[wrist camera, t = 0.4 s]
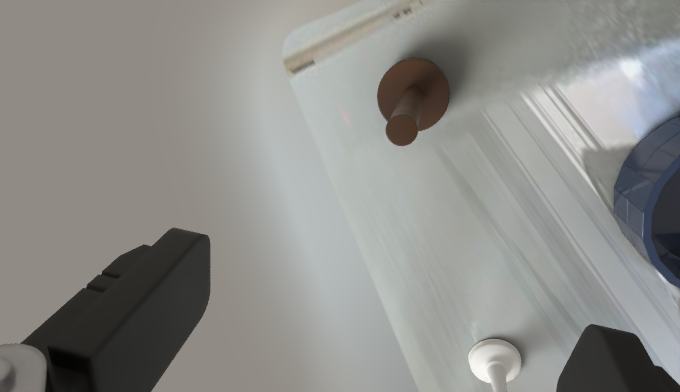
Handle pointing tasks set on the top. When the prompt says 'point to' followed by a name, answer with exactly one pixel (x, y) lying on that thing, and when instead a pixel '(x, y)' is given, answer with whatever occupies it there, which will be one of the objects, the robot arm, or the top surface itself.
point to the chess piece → (495, 362)
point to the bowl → (653, 199)
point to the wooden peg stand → (412, 98)
